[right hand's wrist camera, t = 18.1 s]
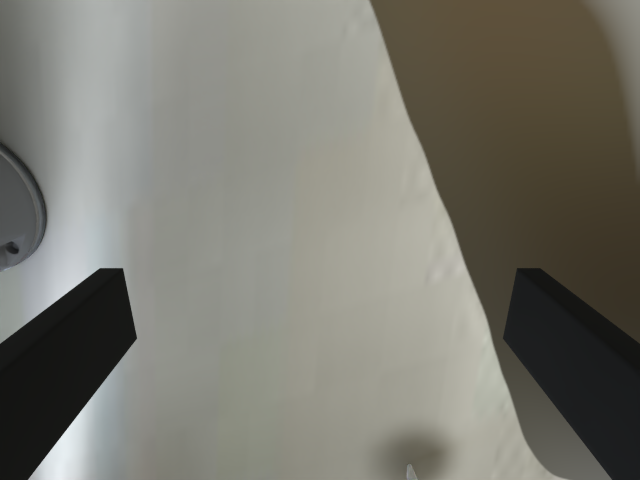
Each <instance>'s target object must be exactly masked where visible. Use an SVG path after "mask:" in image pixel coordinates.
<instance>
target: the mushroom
mask: <svg viewBox="0 0 640 480" xmlns="http://www.w3.org/2000/svg"><path fill="white" fill-rule="evenodd" d="M407 480H418V479H417V477H416V475H415V472H414V470H413V467H412V465H411V464H408V466H407Z"/></svg>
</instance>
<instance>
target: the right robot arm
mask: <svg viewBox="0 0 640 480" xmlns="http://www.w3.org/2000/svg"><path fill="white" fill-rule="evenodd" d="M45 223H46V214H45V207H44V202H43V199H42V196H41V193H40V190H39V188H38V186H37V184H36V182H35V180H34V179H33V177H32V175H31V174H30V172H29V171H28V170H27V168H26V167H25V166H24V165H23V163H22V162H21V161H20V160H19V159H18V158H17V157H16V156H15V155H14V154H13V153H12V152H11V151H10V150H8V149H7V148H6V147H5V146H3V145H2V144H0V272H1V271H4V270H6V269H9V268H11V267H13V266H15V265H17V264H18V263H20V262H22V261H24V260H25V259H27V258H28V257H29V256H30V255H31V254H32V253H33V252H34V251H35V250H36V249H37V247H38V246H39V244H40V242H41V240H42V237H43V234H44V230H45ZM136 339H137V336H136V331H135V326H134V321H133V316H132V311H131V306H130V301H129V296H128V291H127V286H126V281H125V276H124V272H123V268H100V269H98V270H97V271H96V272H94V273H93V274H92V275H90V276H89V277H88V278H86V279H85V280H84V281H82V282H81V283H80V284H79V285H77V286H76V287H75V288H73V289H72V290H71V291H69V292H68V293H67V294H65V295H64V296H63V297H61V298H60V299H59V300H57V301H56V302H55V303H53V304H52V305H51V306H50V307H48V308H47V309H46V310H44V311H43V312H42V313H40V314H39V315H38V316H36V317H35V318H34V319H32V320H31V321H30V322H28V323H27V324H26V325H24V326H23V327H22V328H20V329H19V330H18V331H17V332H15V333H14V334H13V335H11V336H10V337H9V338H7V339H6V340H5V341H3V342H2V343H1V344H0V480H28V479H29V478H30V476H31V475H32V474H33V472H34V471H35V470H36V468H37V467H38V466H39V465H40V463H41V462H42V461H43V459H44V458H45V457H46V456H47V454H48V453H49V452H50V450H51V449H52V448H53V446H54V445H55V444H56V443H57V441H58V440H59V439H60V437H61V436H62V435H63V433H64V432H65V431H66V430H67V428H68V427H69V426H70V424H71V423H72V422H73V421H74V419H75V418H76V417H77V415H78V414H79V413H80V411H81V410H82V409H83V408H84V406H85V405H86V404H87V402H88V401H89V400H90V399H91V397H92V396H93V395H94V393H95V392H96V391H97V389H98V388H99V387H100V386H101V384H102V383H103V382H104V380H105V379H106V378H107V377H108V375H109V374H110V373H111V371H112V370H113V369H114V367H115V366H116V365H117V364H118V362H119V361H120V360H121V358H122V357H123V356H124V355H125V353H126V352H127V351H128V349H129V348H130V347H131V345H132V344H133V343H134V342H135V340H136ZM503 339H504V340H505V342H506V343H507V344H508V345H509V347H510V348H511V349H512V351H513V352H514V353H515V354H516V356H517V357H518V358H519V360H520V361H521V362H522V364H523V365H524V366H525V367H526V369H527V370H528V371H529V373H530V374H531V375H532V377H533V378H534V379H535V380H536V382H537V383H538V384H539V386H540V387H541V388H542V389H543V391H544V392H545V393H546V395H547V396H548V397H549V399H550V400H551V401H552V402H553V404H554V405H555V406H556V408H557V409H558V410H559V411H560V413H561V414H562V415H563V417H564V418H565V419H566V421H567V422H568V423H569V424H570V426H571V427H572V428H573V430H574V431H575V432H576V433H577V435H578V436H579V437H580V439H581V440H582V441H583V443H584V444H585V445H586V446H587V448H588V449H589V450H590V452H591V453H592V454H593V455H594V457H595V458H596V459H597V461H598V462H599V463H600V465H601V466H602V467H603V468H604V470H605V471H606V472H607V474H608V475H609V476H610V477H611V479H612V480H640V344H639V343H638V342H637V341H635V340H634V339H633V338H631V337H630V336H629V335H627V334H626V333H625V332H623V331H622V330H621V329H619V328H618V327H617V326H616V325H614V324H613V323H612V322H610V321H609V320H608V319H606V318H605V317H604V316H602V315H601V314H600V313H598V312H597V311H596V310H594V309H593V308H592V307H590V306H589V305H588V304H586V303H585V302H584V301H582V300H581V299H580V298H579V297H577V296H576V295H575V294H573V293H572V292H571V291H569V290H568V289H567V288H565V287H564V286H563V285H561V284H560V283H559V282H558V281H556V280H555V279H553V278H552V277H551V276H550V275H548V274H547V273H546V272H544V271H543V270H542V269H540V268H517V272H516V276H515V281H514V286H513V291H512V296H511V301H510V306H509V311H508V316H507V321H506V326H505V331H504V336H503Z"/></svg>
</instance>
